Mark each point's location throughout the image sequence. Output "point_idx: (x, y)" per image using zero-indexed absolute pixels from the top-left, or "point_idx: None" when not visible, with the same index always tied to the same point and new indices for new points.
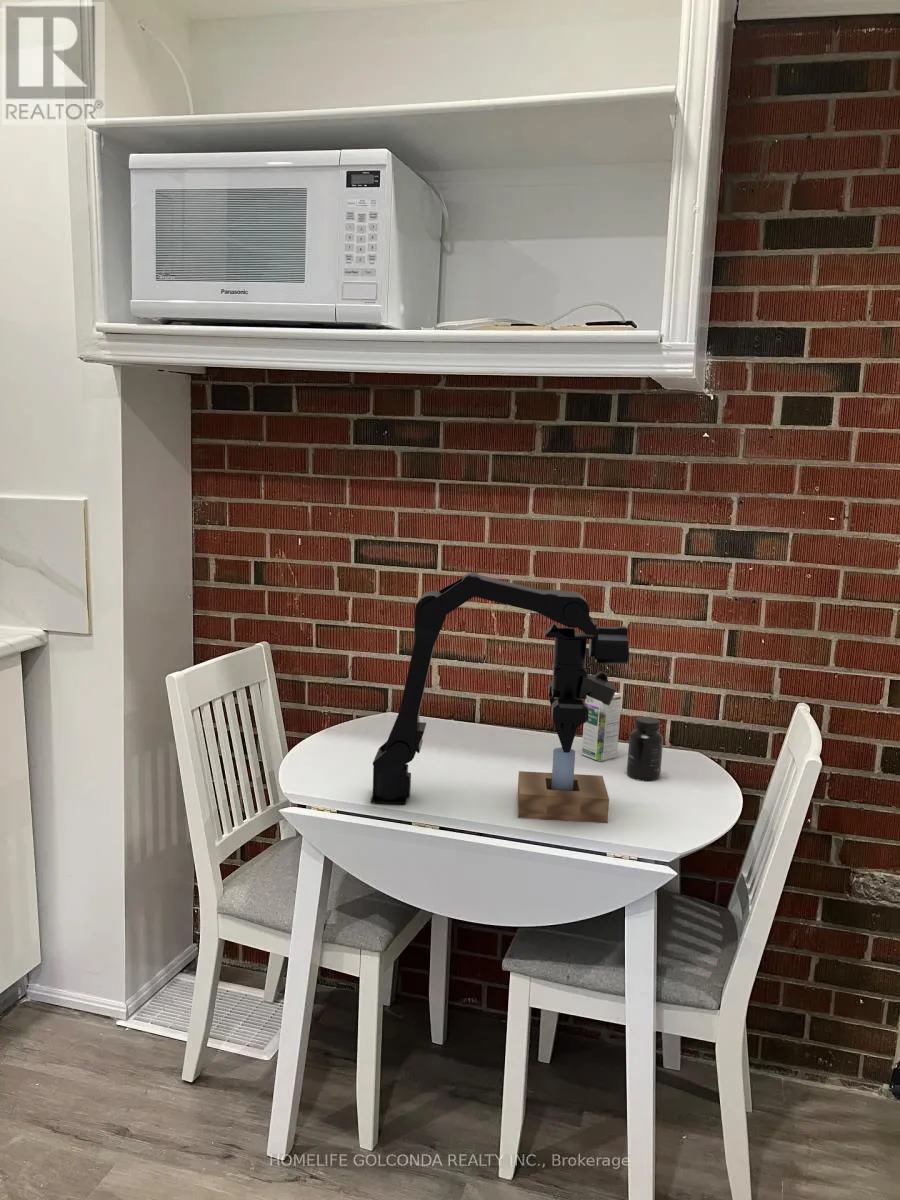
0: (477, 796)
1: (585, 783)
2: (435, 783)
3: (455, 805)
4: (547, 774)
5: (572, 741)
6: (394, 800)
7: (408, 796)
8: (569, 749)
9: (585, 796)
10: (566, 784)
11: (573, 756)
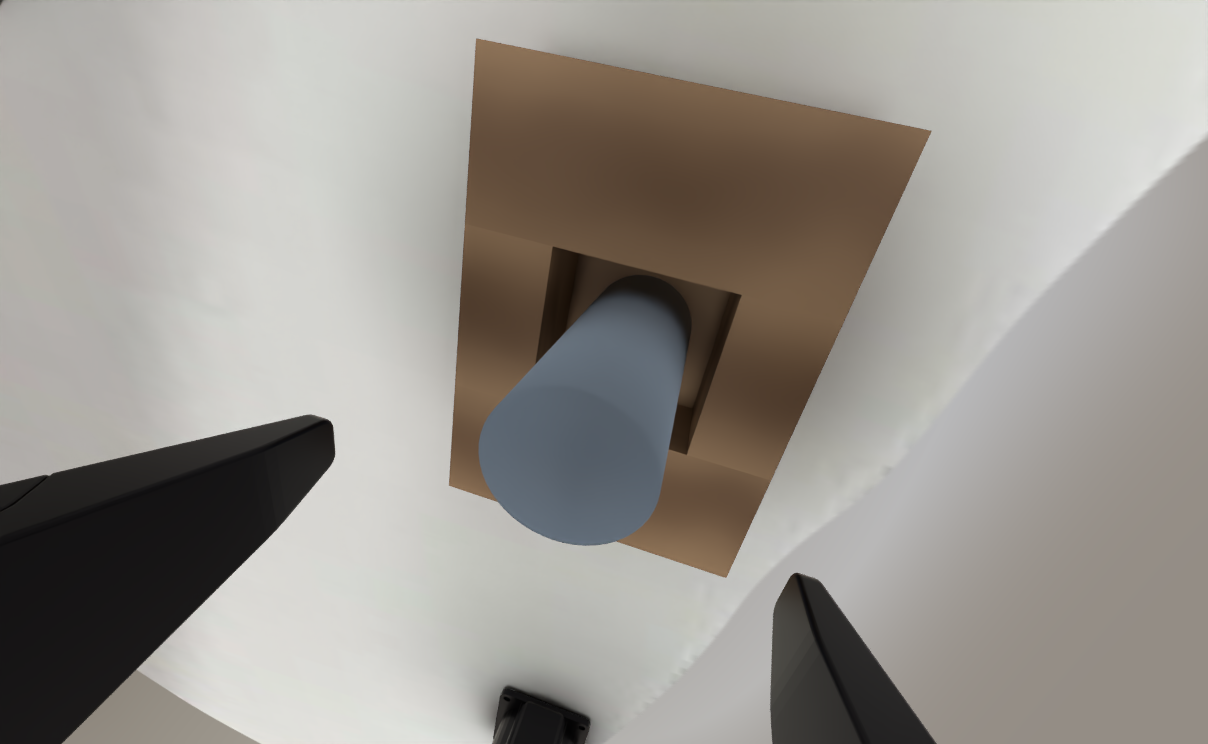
0: (525, 552)
1: (614, 214)
2: (431, 612)
3: (596, 624)
4: (479, 380)
5: (926, 734)
6: (576, 740)
7: (561, 720)
8: (837, 618)
9: (837, 289)
10: (683, 365)
11: (638, 407)
